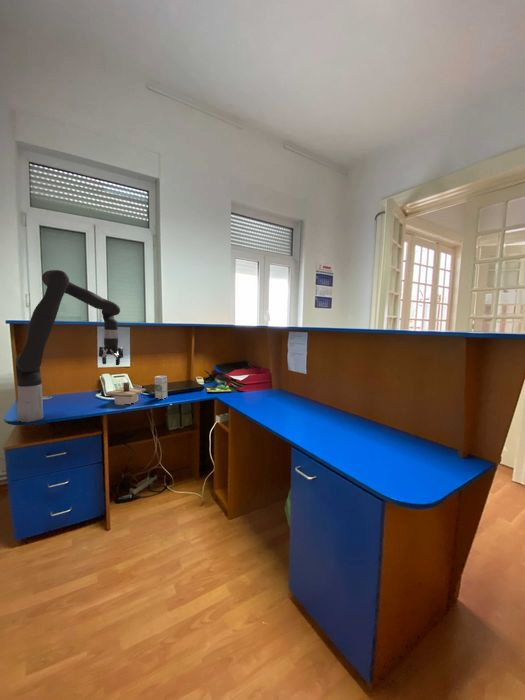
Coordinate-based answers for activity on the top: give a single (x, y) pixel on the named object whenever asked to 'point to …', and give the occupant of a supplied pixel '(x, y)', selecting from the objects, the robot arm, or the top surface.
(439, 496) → the top surface
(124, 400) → the cream bowl
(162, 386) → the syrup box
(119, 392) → the oak lid
